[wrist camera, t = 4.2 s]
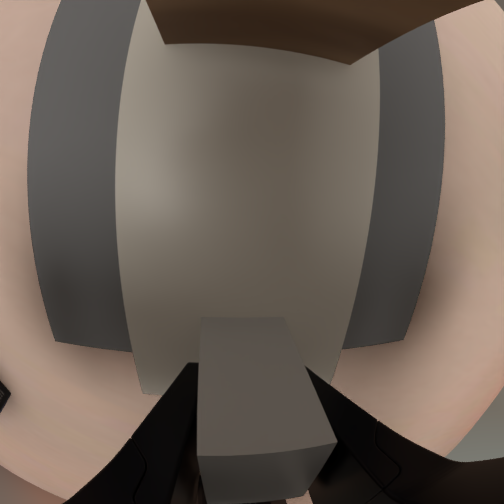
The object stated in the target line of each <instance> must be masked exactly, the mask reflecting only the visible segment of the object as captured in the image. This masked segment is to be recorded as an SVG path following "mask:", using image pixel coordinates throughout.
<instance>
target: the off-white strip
mask: <svg viewBox="0 0 504 504" xmlns="http://www.w3.org/2000/svg"><path fill="white" fill-rule="evenodd" d="M379 119H380V71H379V50H378V49H376V50H375V51H373V52H371V53H369V54H368V55H366V56H364V57H363V58H361V59H359V60H358V61H356V62H354V63H353V64H351V65H348V64H344V63H340V62H337V61H333V60H329V59H325V58H320V57H316V56H311V55H307V54H302V53H296V52H291V51H285V50H278V49H271V48H264V47H255V46H244V45H231V44H166V45H165V44H164V41H163V39H162V37H161V35H160V32H159V30H158V28H157V25H156V23H155V21H154V18H153V16H152V14H151V11H150V9H149V7H148V5H147V2H146V0H141V2H140V6H139V9H138V13H137V16H136V20H135V24H134V28H133V32H132V36H131V41H130V45H129V50H128V55H127V60H126V66H125V72H124V78H123V84H122V91H121V99H120V107H119V117H118V128H117V143H116V165H115V210H116V233H117V248H118V259H119V269H120V278H121V287H122V294H123V301H124V308H125V314H126V320H127V326H128V331H129V336H130V342H131V346H132V351H133V356H134V360H135V365H136V369H137V373H138V377H139V381H140V385H141V388H142V392H143V394H154V395H163V394H164V393H165V392H166V390H167V389H168V388H169V387H170V385H171V384H172V383H173V381H174V380H175V379H176V377H177V376H178V375H179V373H180V372H181V371H182V369H183V368H184V367H185V365H186V364H187V363H188V362H199V372H198V403H197V458H198V463H199V468H200V473H201V478H202V483H203V488H204V492H205V496H206V501H207V504H242V503H256V502H266V501H275V500H282V499H288V498H295V497H300V496H303V495H304V494H305V493H306V491H307V490H308V488H309V487H310V486H311V484H312V483H313V481H314V480H315V478H316V477H317V475H318V474H319V472H320V470H321V469H322V467H323V466H324V464H325V462H326V461H327V459H328V458H329V456H330V454H331V453H332V451H333V449H334V447H335V446H336V444H337V439H336V437H335V435H334V432H333V430H332V428H331V425H330V423H329V421H328V418H327V416H326V414H325V412H324V409H323V407H322V405H321V402H320V400H319V398H318V395H317V393H316V391H315V388H314V386H313V384H312V382H311V379H310V377H309V375H308V372H307V370H306V368H305V366H306V367H308V368H309V369H310V370H311V371H313V372H314V373H315V374H316V375H318V376H319V377H320V378H322V379H323V380H324V381H325V382H327V383H328V384H329V385H330V384H331V381H332V378H333V375H334V372H335V369H336V366H337V362H338V359H339V356H340V353H341V349H342V346H343V343H344V339H345V336H346V332H347V328H348V325H349V321H350V317H351V313H352V309H353V305H354V301H355V297H356V293H357V288H358V284H359V279H360V275H361V270H362V265H363V260H364V254H365V249H366V243H367V238H368V232H369V225H370V219H371V212H372V204H373V196H374V188H375V179H376V168H377V156H378V141H379Z"/></svg>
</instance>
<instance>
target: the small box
mask: <svg viewBox="0 0 504 504" xmlns="http://www.w3.org/2000/svg"><path fill="white" fill-rule="evenodd" d="M10 395H11V393H10V392H9V391H8V390H7V388H6V387H5V386H4V385H3V384H2V383H1V381H0V413H1V411H2V409H3V408H4V406H5V404H6V402H7V400H8V399H9V397H10Z"/></svg>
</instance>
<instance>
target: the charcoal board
mask: <svg viewBox="0 0 504 504" xmlns="http://www.w3.org/2000/svg"><path fill="white" fill-rule="evenodd" d="M140 2H141V0H61V2H60V5H59V7H58V10H57V12H56V15H55V17H54V20H53V23H52V26H51V29H50V32H49V35H48V38H47V41H46V45H45V48H44V52H43V55H42V59H41V63H40V67H39V72H38V76H37V81H36V86H35V92H34V97H33V104H32V111H31V119H30V129H29V141H28V164H27V184H28V207H29V220H30V230H31V238H32V246H33V252H34V258H35V264H36V270H37V275H38V280H39V284H40V289H41V293H42V297H43V301H44V305H45V309H46V312H47V316H48V319H49V323H50V326H51V329H52V332H53V335H54V338H55V341H57V342H63V343H68V344H74V345H80V346H87V347H94V348H101V349H109V350H117V351H126V352H133V351H132V346H131V342H130V336H129V331H128V326H127V320H126V314H125V308H124V301H123V294H122V287H121V278H120V269H119V259H118V248H117V233H116V210H115V165H116V143H117V128H118V117H119V107H120V99H121V91H122V84H123V78H124V72H125V66H126V60H127V55H128V50H129V45H130V41H131V36H132V32H133V28H134V24H135V20H136V16H137V13H138V9H139V6H140ZM378 50H379V71H380V119H379V141H378V156H377V168H376V179H375V188H374V196H373V204H372V212H371V219H370V225H369V232H368V238H367V243H366V249H365V254H364V260H363V265H362V270H361V275H360V279H359V284H358V288H357V293H356V297H355V301H354V305H353V309H352V313H351V317H350V321H349V325H348V328H347V332H346V336H345V339H344V343H343V346H342V349H349V348H357V347H364V346H371V345H377V344H383V343H389V342H395V341H400V340H404V337H405V335H406V332H407V329H408V326H409V324H410V321H411V318H412V315H413V312H414V309H415V306H416V303H417V299H418V296H419V293H420V289H421V286H422V282H423V279H424V275H425V271H426V267H427V263H428V259H429V255H430V250H431V246H432V241H433V236H434V231H435V226H436V220H437V214H438V207H439V200H440V193H441V184H442V174H443V161H444V142H445V106H444V87H443V75H442V65H441V57H440V50H439V44H438V38H437V32H436V27H435V23H434V20H432V21H430V22H428V23H426V24H424V25H422V26H420V27H418V28H416V29H414V30H412V31H410V32H408V33H406V34H404V35H402V36H400V37H398V38H396V39H394V40H392V41H391V42H389V43H387V44H385V45H383V46H382V47H380V48H378Z"/></svg>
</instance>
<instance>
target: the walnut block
mask: <svg viewBox="0 0 504 504" xmlns="http://www.w3.org/2000/svg"><path fill="white" fill-rule="evenodd" d="M480 1H483V0H146V2H147V5H148V7H149V9H150V11H151V14H152V16H153V18H154V21H155V23H156V25H157V28H158V30H159V32H160V35H161V37H162V39H163V41H164V44H165V45H166V44H231V45H244V46H255V47H264V48H271V49H278V50H285V51H291V52H296V53H302V54H307V55H311V56H316V57H320V58H325V59H329V60H333V61H337V62H340V63H344V64H348V65H351V64H353V63H354V62H356V61H358V60H359V59H361V58H363V57H364V56H366V55H368V54H369V53H371V52H373V51H375V50H376V49H378V48H380V47H382V46H383V45H385V44H387V43H389V42H391V41H392V40H394V39H396V38H398V37H400V36H402V35H404V34H406V33H408V32H410V31H412V30H414V29H416V28H418V27H420V26H422V25H424V24H426V23H428V22H430V21H432V20H435V19H437V18H439V17H441V16H444V15H446V14H448V13H451V12H453V11H456V10H458V9H461V8H463V7H466V6H469V5H471V4H474V3H477V2H480Z"/></svg>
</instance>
